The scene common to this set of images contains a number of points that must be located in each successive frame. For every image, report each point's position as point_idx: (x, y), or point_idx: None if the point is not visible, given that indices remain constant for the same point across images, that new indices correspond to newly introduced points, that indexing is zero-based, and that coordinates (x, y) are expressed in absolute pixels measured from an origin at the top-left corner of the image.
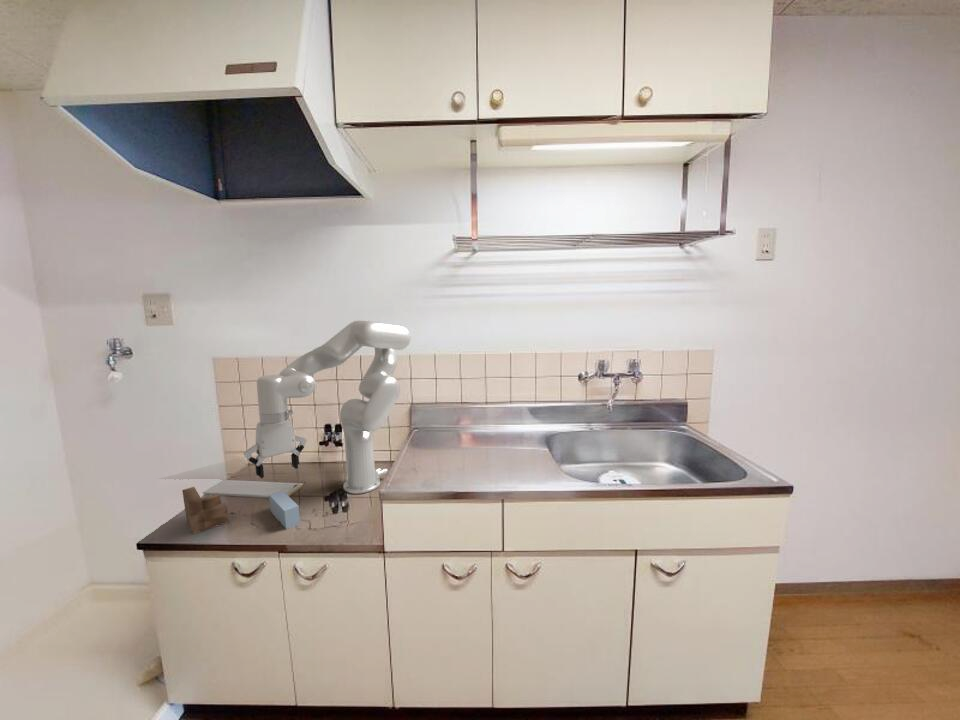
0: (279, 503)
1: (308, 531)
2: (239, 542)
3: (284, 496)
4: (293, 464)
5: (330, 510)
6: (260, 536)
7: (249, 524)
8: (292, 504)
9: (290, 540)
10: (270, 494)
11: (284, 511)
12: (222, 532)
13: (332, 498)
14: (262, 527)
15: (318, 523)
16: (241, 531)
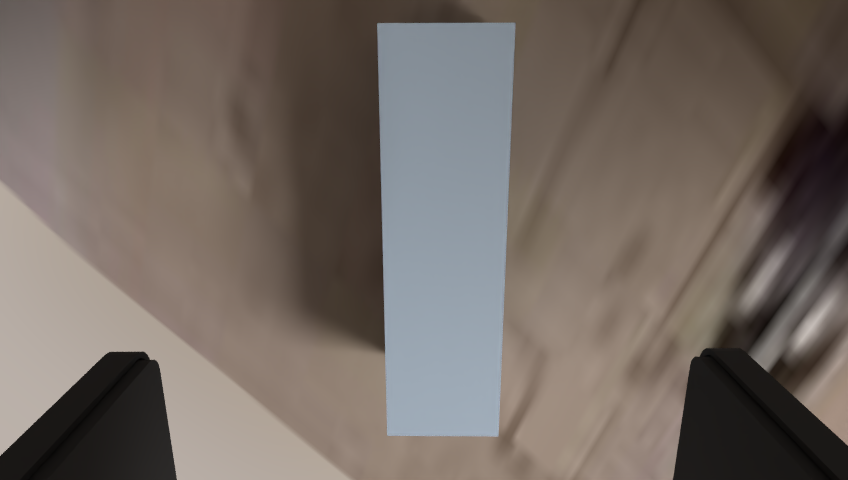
0: (397, 290)
1: (484, 463)
2: (134, 298)
3: (478, 190)
4: (706, 456)
5: (702, 340)
6: (250, 322)
7: (219, 115)
8: (472, 382)
9: (375, 475)
10: (390, 37)
11: (387, 429)
12: (46, 88)
13: (819, 187)
14: (284, 225)
15: (565, 427)
16: (159, 174)
